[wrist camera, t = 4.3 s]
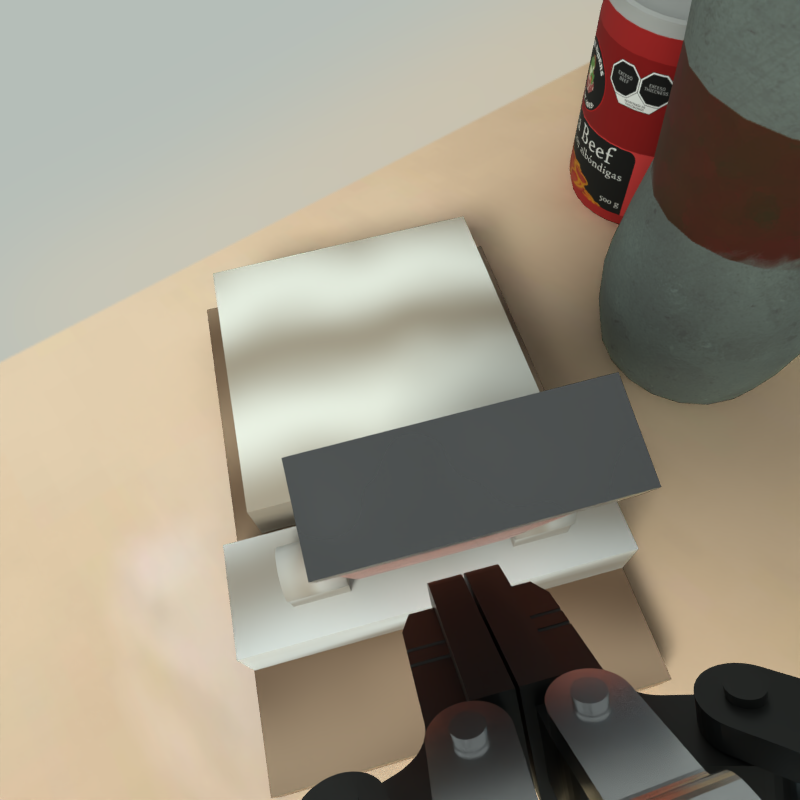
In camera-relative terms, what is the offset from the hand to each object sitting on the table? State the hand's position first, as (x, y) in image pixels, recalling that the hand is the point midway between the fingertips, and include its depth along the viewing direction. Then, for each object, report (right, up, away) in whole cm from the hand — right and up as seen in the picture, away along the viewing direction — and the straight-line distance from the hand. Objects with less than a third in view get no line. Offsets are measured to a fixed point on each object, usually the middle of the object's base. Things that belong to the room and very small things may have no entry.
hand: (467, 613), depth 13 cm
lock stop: (0, 0, +9) cm, 9 cm away
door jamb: (-1, +1, +15) cm, 15 cm away
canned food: (+12, +16, +24) cm, 31 cm away
